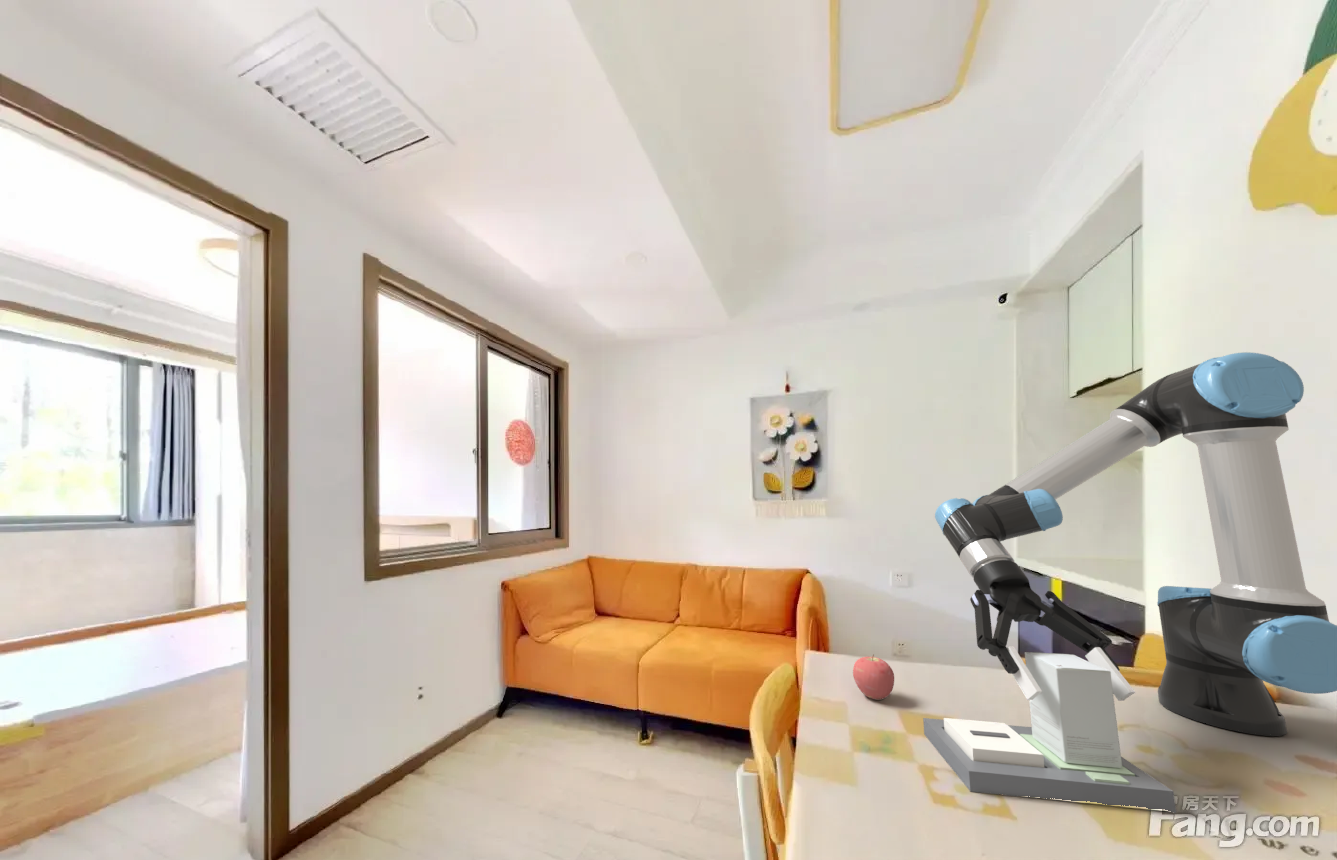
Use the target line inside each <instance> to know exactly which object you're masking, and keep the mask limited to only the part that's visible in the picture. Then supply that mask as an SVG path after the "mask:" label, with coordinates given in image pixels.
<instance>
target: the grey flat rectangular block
mask: <svg viewBox="0 0 1337 860" xmlns="http://www.w3.org/2000/svg"><path fill="white" fill-rule="evenodd" d="M922 719H923V734H924V736H925V737H926V738H927V740H928V741H929V742H930V744H932V745H933V747H934V748H935V750H936V751H937V752H938V754H939V755H940V756H941V757H942V758H943V760H944V761H945V762H946V763H947V764H948V766H949V767H950V768H951V770H952V771H953V772H954V773H955V774H956V776H958V778H959V779H960V781H961V782H962V783H963V784H964V786H965V787H966V788H967V789H968V790H969V791H970V793H971V792H973V793H980V794H981V793H982V794H991V795H992V794H993V795H999V794H1001V795H1000V796H1009V797H1010V796H1011V797H1018V796H1028V797H1029V796H1030V797H1040V798H1045V799H1044V800H1047V799H1050V798H1051V799H1052V798H1053V799H1054V798H1055V799H1062V800H1071V801H1086V802H1087V801H1090V802H1097V803H1102V804H1105V805H1106V804H1107V805H1121V806H1122V805H1123V806H1124V805H1125V806H1129V805H1130V806H1136V807H1137V806H1138V807H1146V808H1148V809H1165V810H1168V811H1171V812H1174V813H1173V814H1177V808H1176V807H1177V806H1176V801H1175V793H1174V790H1172V789H1171V788H1169V787H1168V786H1167V785H1165V784H1164V783H1162V782H1160V781H1158V779H1156V778H1154V777H1153V776H1151V775H1150V774H1149V773H1146V772H1145V771H1144V770H1142V769H1141V768H1140V767H1138V766H1136V765H1135V764H1134V763H1132V762H1130V761H1129V760H1127V759H1126V758H1124V757H1122V756H1121V761H1122V766H1123V767H1125V768H1126V769H1128V770H1129V771H1131V772H1132V773H1134V774H1135V776H1124V775H1117V774H1107V773H1096V772H1086V771H1085V772H1083V771H1072V770H1062V769H1059V768H1057V767H1056V766H1055V765H1054V764H1053V763H1051V762H1050V761H1049V760H1048V759H1047V758H1045V757H1044V756H1043V754H1042V753H1040V752H1039V751H1038V750H1037V749H1036V748H1034V747H1033V746H1032V745H1031V744H1030V743H1028V742H1027V741H1026V740H1025V739H1024V738H1022V737H1021V736H1020V734H1028V735H1032V726H1022V725H1013V724H1012V725H1009V724H1007V723H1006V722H996V721H986V720H985V721H984V720H975V719H974V720H973V719H972V720H971V719H961V718H951V717H949V718H948V717H943V719H939V718H927V717H923V718H922ZM1002 794H1003V795H1002ZM1028 797H1027V798H1028ZM1046 798H1047V799H1046Z"/></svg>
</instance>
